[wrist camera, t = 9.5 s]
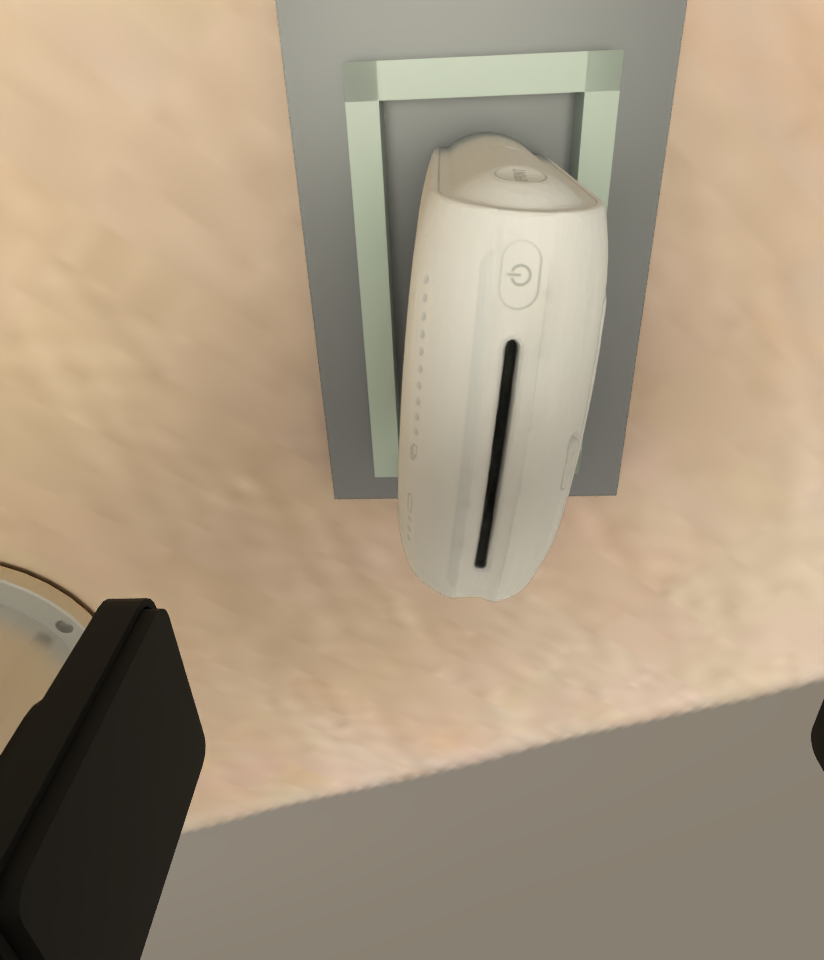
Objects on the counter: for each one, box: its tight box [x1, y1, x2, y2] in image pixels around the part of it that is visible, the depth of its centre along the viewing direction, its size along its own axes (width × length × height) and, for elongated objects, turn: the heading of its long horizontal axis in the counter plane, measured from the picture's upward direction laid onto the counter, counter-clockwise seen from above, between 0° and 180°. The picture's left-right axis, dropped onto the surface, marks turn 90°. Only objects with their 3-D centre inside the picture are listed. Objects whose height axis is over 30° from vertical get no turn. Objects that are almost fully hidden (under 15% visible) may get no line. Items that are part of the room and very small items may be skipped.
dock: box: [276, 0, 687, 499], centre depth 24 cm, size 18×12×2 cm, turn 2°
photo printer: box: [398, 132, 608, 602], centre depth 19 cm, size 10×4×12 cm, turn 177°
